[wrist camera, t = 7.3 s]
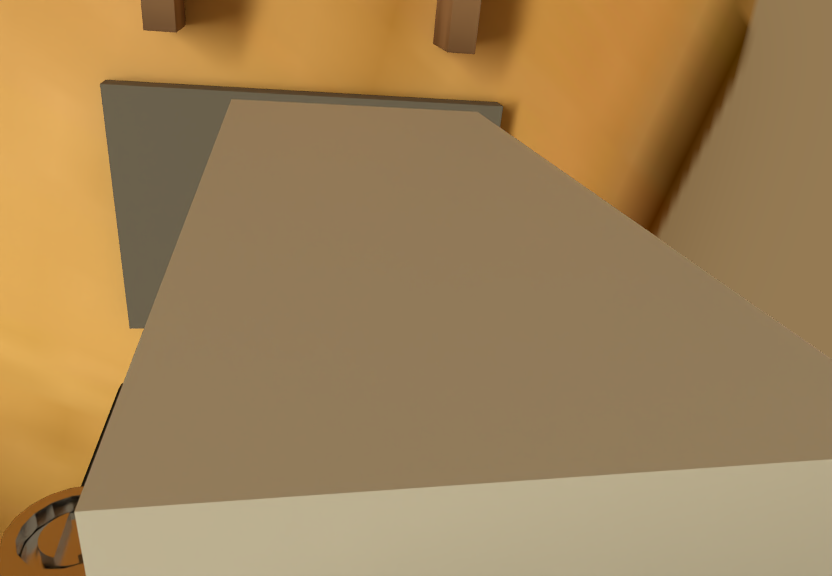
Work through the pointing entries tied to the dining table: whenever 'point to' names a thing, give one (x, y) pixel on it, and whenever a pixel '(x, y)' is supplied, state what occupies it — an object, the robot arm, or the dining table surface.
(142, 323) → the mat
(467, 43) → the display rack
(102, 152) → the dining table surface
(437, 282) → the blank block
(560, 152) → the dining table surface
